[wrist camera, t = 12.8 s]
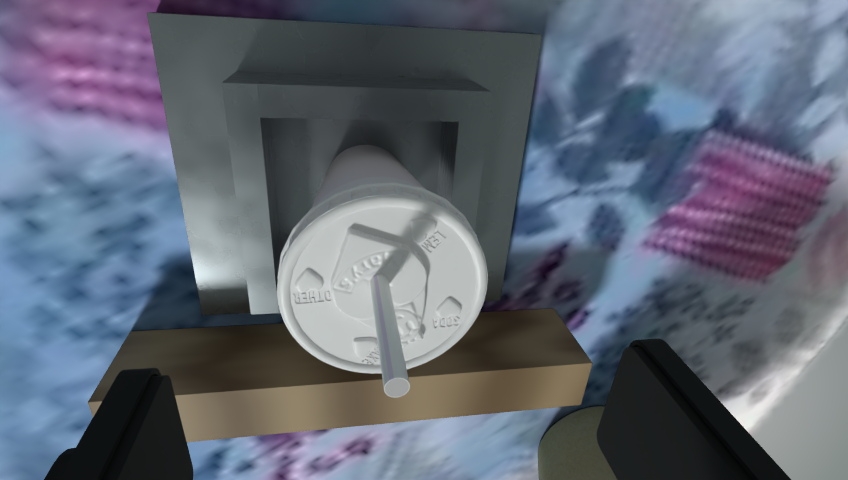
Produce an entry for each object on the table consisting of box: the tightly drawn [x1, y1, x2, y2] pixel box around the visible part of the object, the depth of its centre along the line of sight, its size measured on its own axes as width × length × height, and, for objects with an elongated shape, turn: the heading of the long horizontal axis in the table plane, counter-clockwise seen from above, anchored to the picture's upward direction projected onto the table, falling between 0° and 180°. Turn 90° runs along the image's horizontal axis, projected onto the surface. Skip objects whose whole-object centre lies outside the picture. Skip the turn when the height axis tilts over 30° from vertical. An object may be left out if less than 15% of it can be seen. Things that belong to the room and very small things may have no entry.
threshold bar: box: [88, 308, 592, 442], centre depth 26 cm, size 24×3×5 cm, turn 87°
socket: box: [147, 12, 542, 315], centre depth 22 cm, size 16×14×4 cm
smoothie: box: [277, 145, 488, 398], centre depth 16 cm, size 6×6×14 cm
